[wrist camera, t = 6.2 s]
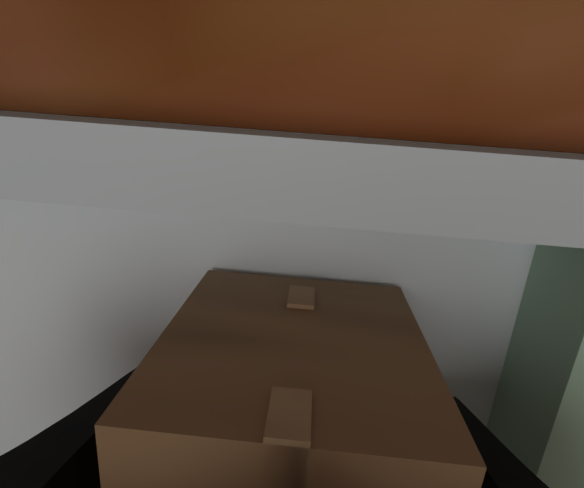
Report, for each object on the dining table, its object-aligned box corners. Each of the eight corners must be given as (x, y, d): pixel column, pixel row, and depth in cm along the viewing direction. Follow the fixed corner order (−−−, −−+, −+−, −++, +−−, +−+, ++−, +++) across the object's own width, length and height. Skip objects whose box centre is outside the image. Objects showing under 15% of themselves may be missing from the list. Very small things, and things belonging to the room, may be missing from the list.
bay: (486, 562, 14) (528, 675, 11) (-169, 485, 15) (-284, 571, 12) (614, 155, 10) (736, 171, 7) (-320, 86, 11) (-552, 74, 8)
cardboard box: (365, 496, 12) (399, 774, 7) (207, 477, 13) (126, 736, 7) (400, 283, 10) (488, 461, 5) (208, 266, 10) (93, 418, 5)
